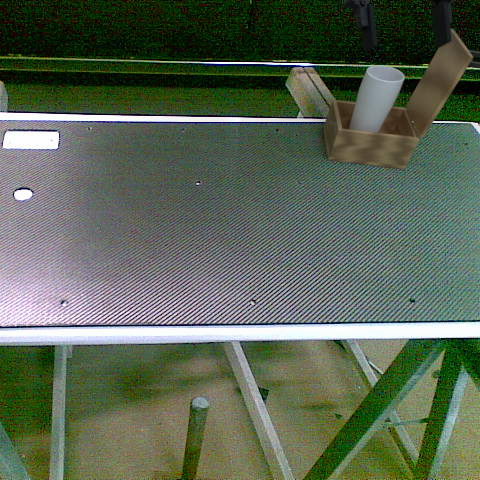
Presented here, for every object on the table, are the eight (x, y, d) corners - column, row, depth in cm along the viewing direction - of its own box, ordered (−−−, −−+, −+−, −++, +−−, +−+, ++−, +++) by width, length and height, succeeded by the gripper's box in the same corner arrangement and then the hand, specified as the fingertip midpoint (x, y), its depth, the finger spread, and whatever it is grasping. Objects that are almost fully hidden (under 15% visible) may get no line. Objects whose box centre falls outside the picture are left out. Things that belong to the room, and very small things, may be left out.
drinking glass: (361, 132, 99) (389, 63, 88) (382, 150, 94) (413, 79, 84) (334, 137, 97) (358, 67, 86) (353, 156, 93) (382, 84, 82)
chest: (328, 160, 93) (338, 130, 88) (323, 128, 101) (332, 99, 96) (404, 169, 91) (420, 139, 87) (393, 137, 100) (406, 107, 95)
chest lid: (469, 56, 75) (529, 68, 75) (449, 28, 84) (504, 39, 83) (419, 137, 86) (471, 148, 86) (405, 105, 94) (453, 115, 94)
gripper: (443, -68, 85) (455, 51, 85) (313, -66, 81) (327, 58, 81) (478, -97, 77) (491, 33, 78) (337, -98, 73) (351, 40, 74)
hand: (407, 46), depth 79 cm, fingers open, 13 cm apart
